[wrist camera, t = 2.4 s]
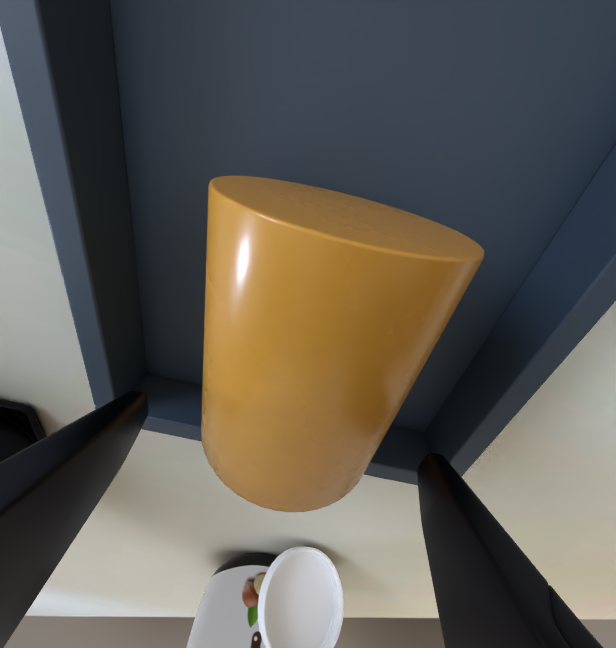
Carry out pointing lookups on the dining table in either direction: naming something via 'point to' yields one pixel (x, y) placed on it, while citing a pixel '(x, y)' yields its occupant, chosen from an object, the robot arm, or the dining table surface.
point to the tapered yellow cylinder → (315, 332)
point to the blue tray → (328, 175)
